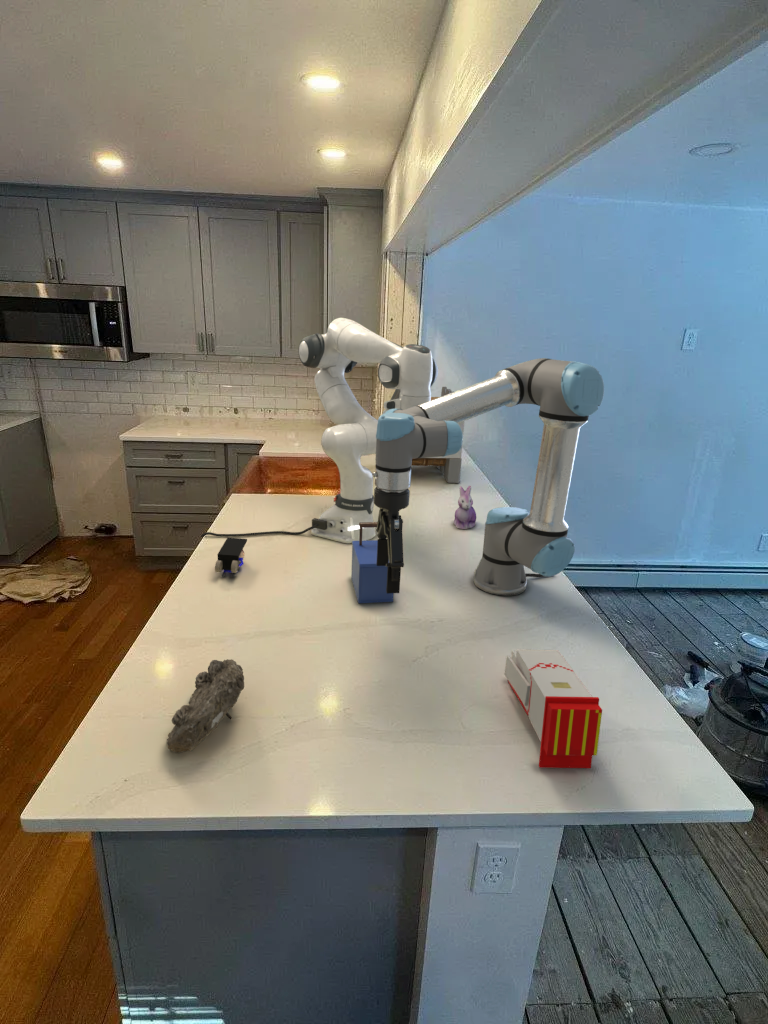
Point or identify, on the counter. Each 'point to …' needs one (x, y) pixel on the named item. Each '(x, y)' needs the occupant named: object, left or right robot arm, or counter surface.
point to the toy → (556, 707)
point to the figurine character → (230, 556)
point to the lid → (366, 548)
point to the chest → (370, 583)
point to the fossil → (206, 705)
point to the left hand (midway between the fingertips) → (412, 453)
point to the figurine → (465, 510)
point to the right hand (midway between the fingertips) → (387, 578)
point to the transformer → (445, 464)
